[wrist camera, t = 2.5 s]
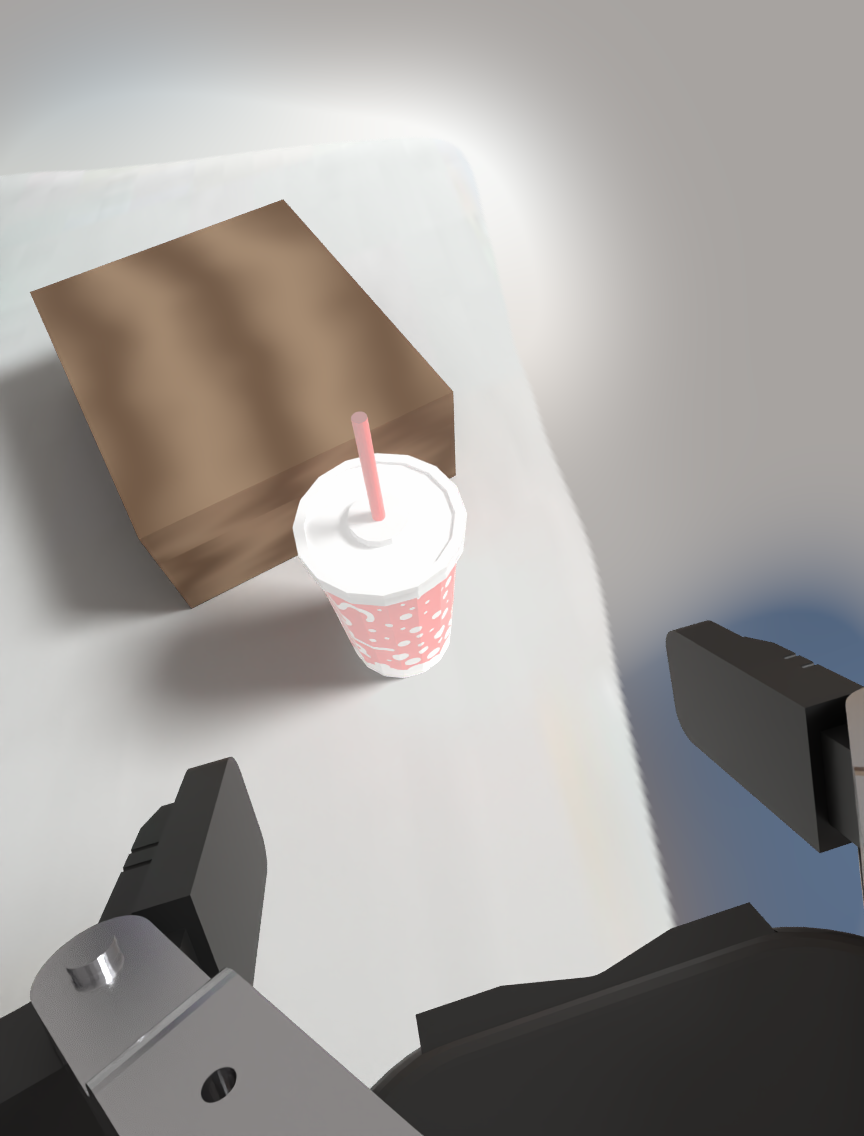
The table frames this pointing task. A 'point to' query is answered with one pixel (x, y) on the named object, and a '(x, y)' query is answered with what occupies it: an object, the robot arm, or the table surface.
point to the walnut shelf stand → (236, 388)
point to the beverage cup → (385, 553)
